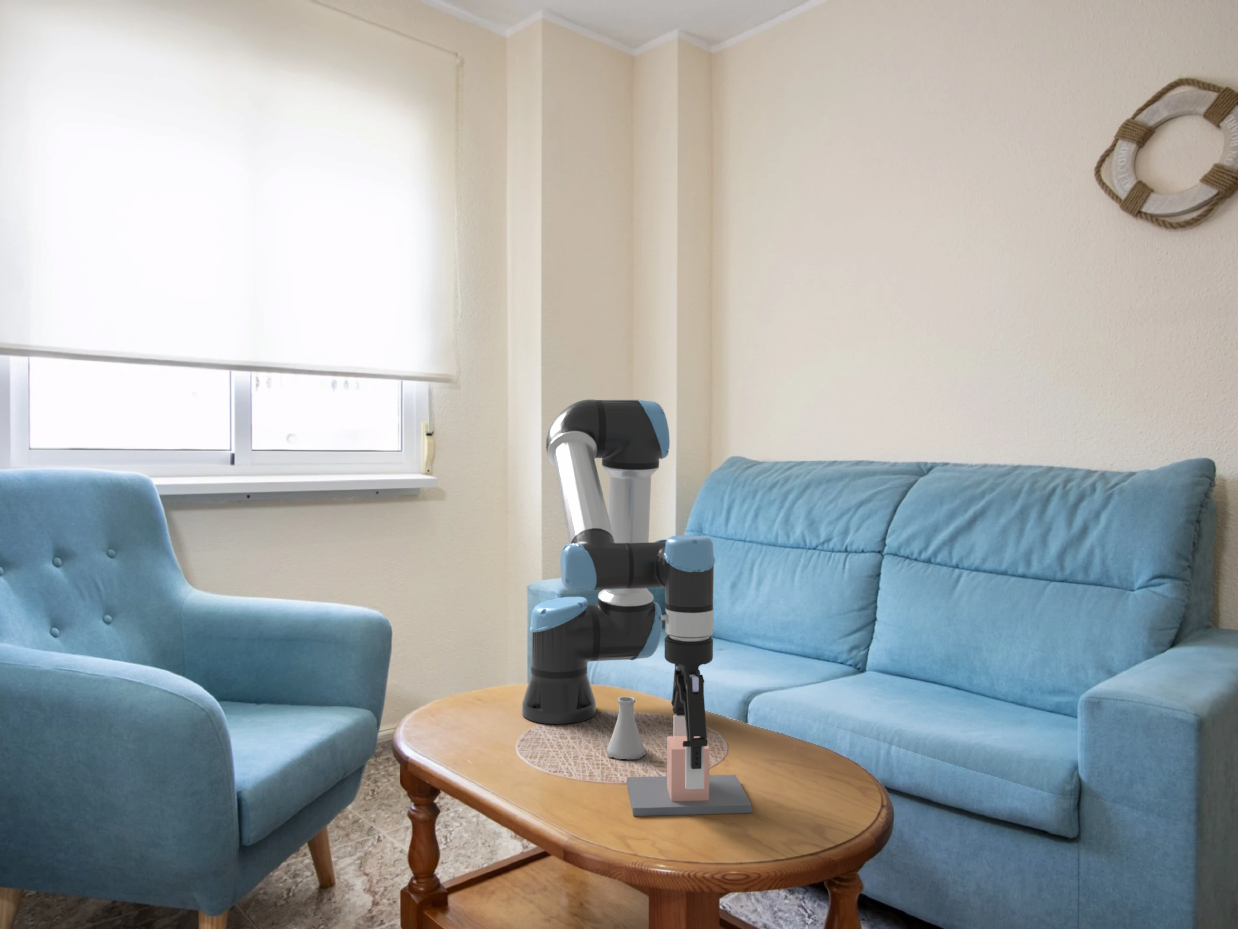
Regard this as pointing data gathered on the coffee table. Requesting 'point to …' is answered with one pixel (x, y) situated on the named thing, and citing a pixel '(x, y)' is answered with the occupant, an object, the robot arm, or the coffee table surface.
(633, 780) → the post board
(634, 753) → the flask
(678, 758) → the pink upright block
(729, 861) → the coffee table surface
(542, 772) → the coffee table surface
